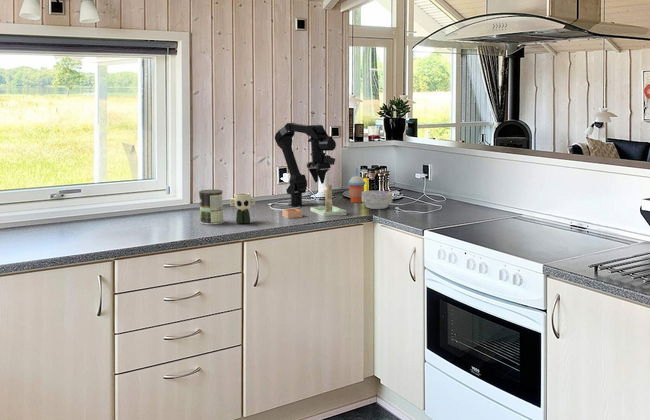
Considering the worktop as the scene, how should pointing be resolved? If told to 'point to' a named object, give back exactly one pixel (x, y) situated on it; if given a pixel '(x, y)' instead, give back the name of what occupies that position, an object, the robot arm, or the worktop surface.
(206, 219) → the coffee can
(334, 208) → the sage tray
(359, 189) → the cup with straw
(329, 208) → the dowel
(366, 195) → the paper bowls
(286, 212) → the peach square box
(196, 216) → the worktop surface
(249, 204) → the character mug
